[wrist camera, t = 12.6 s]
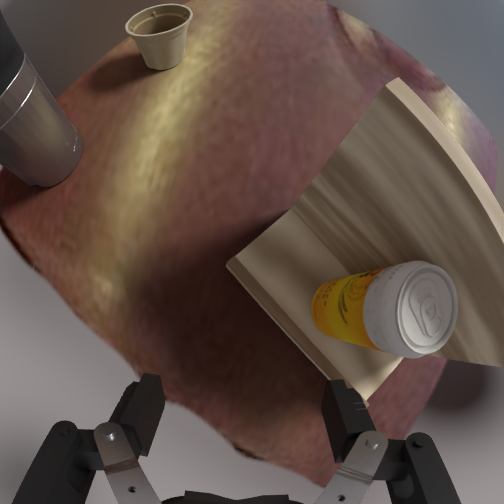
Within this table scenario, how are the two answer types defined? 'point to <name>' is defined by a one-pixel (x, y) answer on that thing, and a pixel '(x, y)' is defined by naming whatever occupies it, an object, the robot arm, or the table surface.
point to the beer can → (390, 308)
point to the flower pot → (161, 34)
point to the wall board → (385, 237)
